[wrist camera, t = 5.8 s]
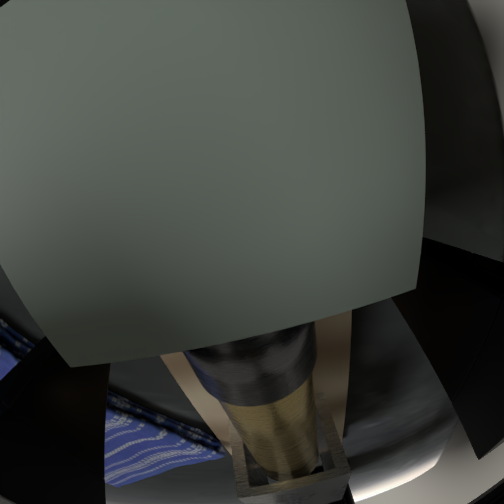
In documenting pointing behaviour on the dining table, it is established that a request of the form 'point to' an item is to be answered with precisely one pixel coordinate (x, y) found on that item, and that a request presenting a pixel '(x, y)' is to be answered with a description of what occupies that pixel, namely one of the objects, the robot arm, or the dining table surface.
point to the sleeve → (301, 489)
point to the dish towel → (130, 429)
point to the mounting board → (324, 372)
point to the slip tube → (267, 395)
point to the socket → (206, 167)
